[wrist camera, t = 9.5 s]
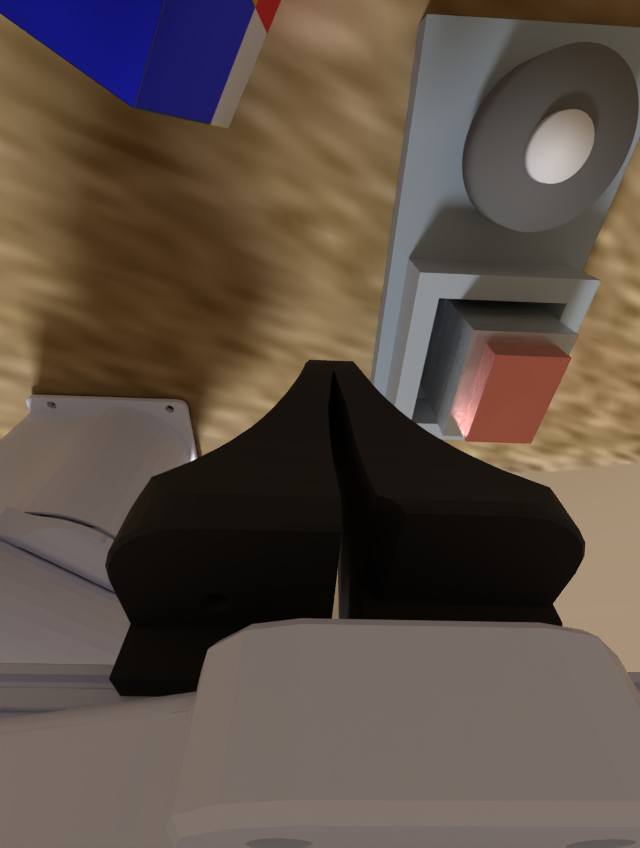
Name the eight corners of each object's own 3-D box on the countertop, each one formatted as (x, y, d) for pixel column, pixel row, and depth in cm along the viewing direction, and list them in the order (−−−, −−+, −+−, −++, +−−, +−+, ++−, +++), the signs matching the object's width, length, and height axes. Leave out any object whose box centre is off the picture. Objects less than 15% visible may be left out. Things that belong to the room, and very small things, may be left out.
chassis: (366, 410, 24) (373, 448, 21) (419, 23, 14) (447, -11, 11) (508, 415, 24) (535, 453, 21) (659, 38, 14) (751, 8, 11)
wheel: (447, 222, 16) (463, 231, 14) (484, 48, 13) (510, 32, 11) (571, 228, 16) (601, 237, 14) (636, 57, 13) (685, 43, 11)
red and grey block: (419, 380, 21) (448, 449, 16) (439, 289, 18) (483, 341, 14) (489, 383, 21) (540, 452, 17) (521, 293, 18) (594, 345, 14)
